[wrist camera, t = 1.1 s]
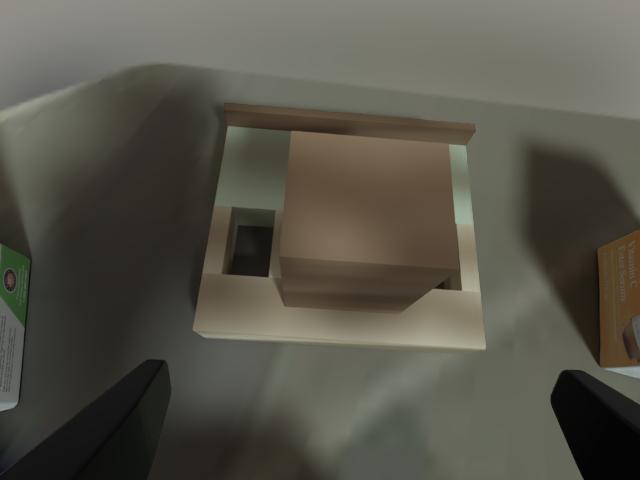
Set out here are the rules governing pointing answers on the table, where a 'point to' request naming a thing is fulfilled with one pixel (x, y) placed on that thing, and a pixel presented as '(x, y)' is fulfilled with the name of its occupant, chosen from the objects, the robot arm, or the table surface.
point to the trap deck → (265, 234)
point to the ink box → (12, 322)
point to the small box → (620, 305)
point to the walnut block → (366, 222)
